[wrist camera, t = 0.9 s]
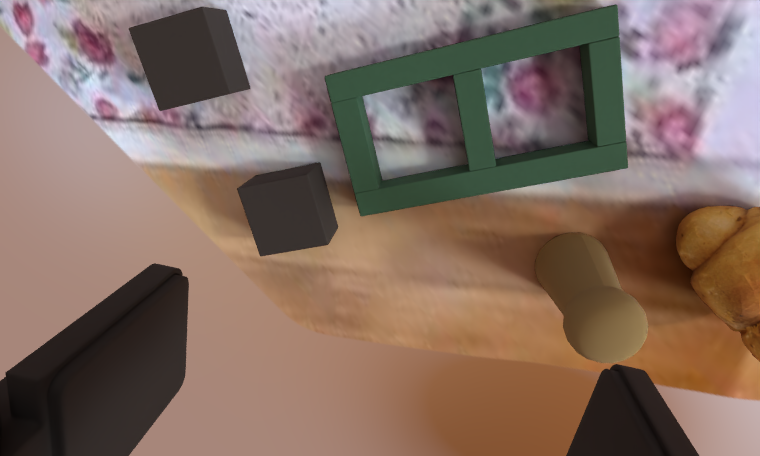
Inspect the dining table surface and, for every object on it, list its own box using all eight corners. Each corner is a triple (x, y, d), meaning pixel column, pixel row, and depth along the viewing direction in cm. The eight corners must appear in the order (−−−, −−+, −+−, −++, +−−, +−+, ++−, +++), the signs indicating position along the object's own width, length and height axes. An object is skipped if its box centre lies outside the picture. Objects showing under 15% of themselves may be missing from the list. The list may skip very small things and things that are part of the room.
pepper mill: (584, 307, 42) (627, 391, 32) (521, 279, 42) (545, 355, 32) (624, 250, 40) (684, 322, 30) (558, 220, 40) (596, 282, 30)
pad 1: (158, 29, 39) (128, 28, 35) (226, 9, 37) (202, 6, 34) (185, 104, 40) (159, 111, 37) (251, 88, 39) (230, 93, 36)
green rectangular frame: (331, 74, 38) (323, 76, 36) (606, 6, 34) (617, 4, 32) (365, 206, 42) (360, 216, 39) (617, 160, 38) (628, 168, 35)
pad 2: (255, 175, 42) (236, 188, 38) (320, 161, 41) (307, 174, 37) (275, 238, 44) (260, 256, 40) (338, 227, 43) (328, 245, 39)
